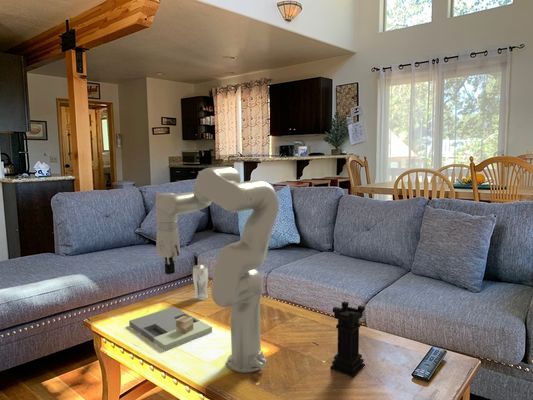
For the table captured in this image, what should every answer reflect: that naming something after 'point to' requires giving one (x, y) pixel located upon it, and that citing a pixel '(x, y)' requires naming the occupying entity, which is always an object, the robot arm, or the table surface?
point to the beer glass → (200, 281)
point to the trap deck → (168, 328)
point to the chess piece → (348, 340)
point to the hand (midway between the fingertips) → (170, 273)
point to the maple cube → (184, 324)
